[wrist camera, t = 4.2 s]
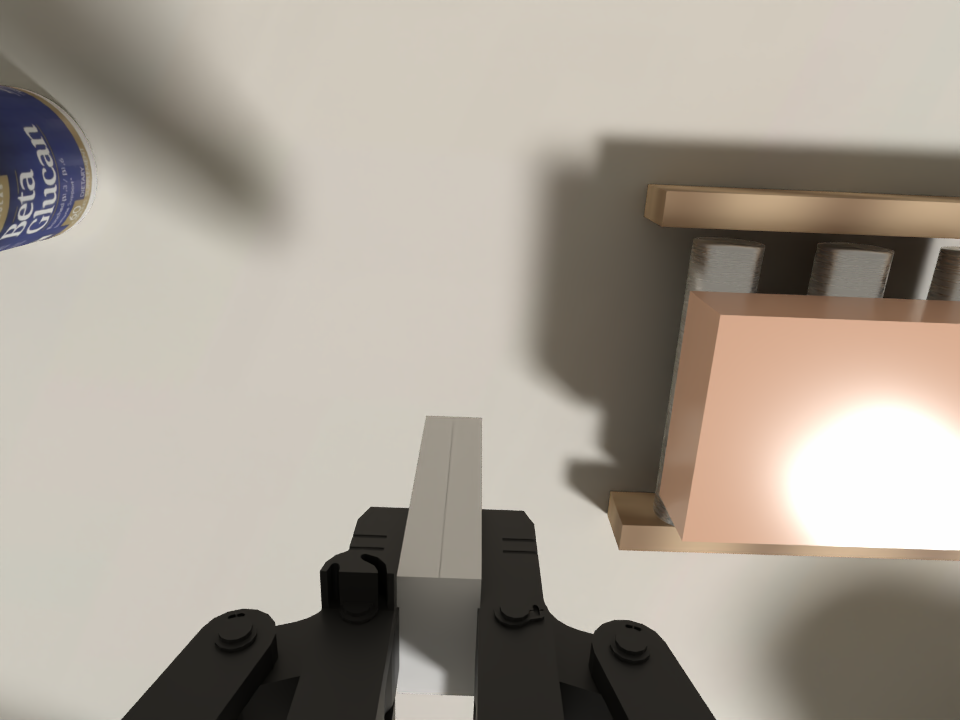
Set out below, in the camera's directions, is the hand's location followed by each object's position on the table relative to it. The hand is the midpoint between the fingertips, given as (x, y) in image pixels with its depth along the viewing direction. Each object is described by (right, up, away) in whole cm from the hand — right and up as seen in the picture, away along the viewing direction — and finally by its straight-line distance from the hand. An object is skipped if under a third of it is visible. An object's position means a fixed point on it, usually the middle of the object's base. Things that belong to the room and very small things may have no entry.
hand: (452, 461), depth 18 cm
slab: (+14, +1, +6) cm, 15 cm away
